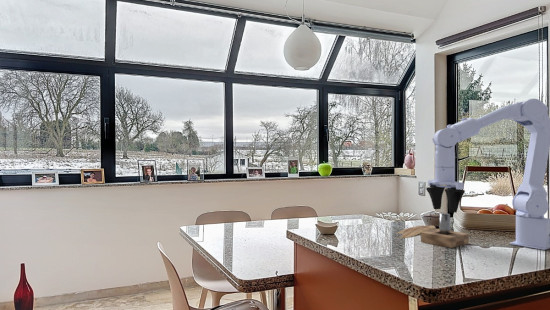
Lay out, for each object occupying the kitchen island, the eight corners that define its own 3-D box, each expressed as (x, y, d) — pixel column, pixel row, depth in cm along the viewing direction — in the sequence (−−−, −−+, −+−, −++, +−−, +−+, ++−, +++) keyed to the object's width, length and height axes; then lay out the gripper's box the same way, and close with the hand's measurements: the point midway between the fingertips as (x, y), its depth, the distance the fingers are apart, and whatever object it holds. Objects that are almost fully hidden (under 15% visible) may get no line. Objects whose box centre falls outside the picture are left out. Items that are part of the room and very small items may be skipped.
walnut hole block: (468, 243, 124) (468, 233, 124) (450, 247, 118) (450, 237, 118) (438, 238, 132) (439, 228, 132) (420, 241, 126) (420, 232, 126)
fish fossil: (416, 241, 129) (415, 237, 129) (385, 239, 135) (385, 236, 135) (439, 228, 149) (439, 225, 149) (412, 227, 155) (412, 224, 155)
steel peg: (451, 242, 125) (451, 214, 125) (446, 244, 123) (446, 214, 123) (442, 241, 127) (442, 212, 127) (437, 242, 125) (437, 213, 125)
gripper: (419, 166, 131) (419, 208, 131) (449, 168, 117) (449, 214, 117) (438, 166, 133) (438, 207, 133) (469, 167, 119) (469, 213, 119)
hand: (444, 210), depth 125 cm, fingers open, 7 cm apart
